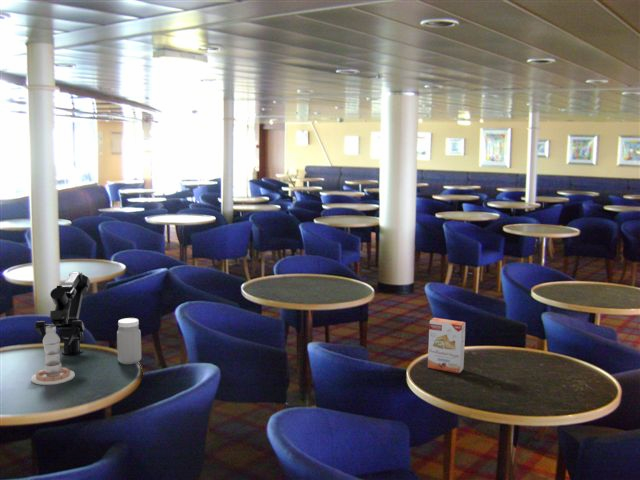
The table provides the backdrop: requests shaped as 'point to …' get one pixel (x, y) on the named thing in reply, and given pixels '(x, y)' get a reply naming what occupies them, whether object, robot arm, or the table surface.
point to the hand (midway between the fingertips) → (56, 345)
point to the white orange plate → (46, 380)
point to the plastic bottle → (52, 352)
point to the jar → (128, 341)
